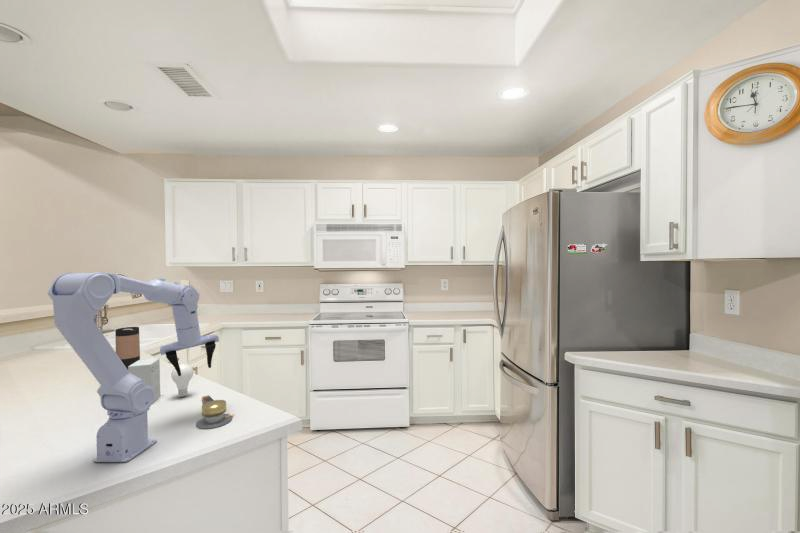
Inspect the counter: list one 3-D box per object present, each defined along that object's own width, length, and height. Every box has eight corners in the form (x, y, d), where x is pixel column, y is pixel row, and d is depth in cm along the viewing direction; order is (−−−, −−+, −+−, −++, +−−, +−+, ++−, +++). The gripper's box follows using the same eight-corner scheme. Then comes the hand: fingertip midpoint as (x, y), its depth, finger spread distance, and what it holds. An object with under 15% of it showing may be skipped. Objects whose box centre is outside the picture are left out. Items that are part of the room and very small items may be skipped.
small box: (139, 398, 117) (138, 359, 117) (161, 396, 119) (160, 357, 119) (128, 407, 109) (127, 366, 109) (151, 404, 111) (150, 364, 111)
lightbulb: (183, 400, 114) (182, 367, 114) (167, 399, 115) (166, 366, 115) (198, 393, 120) (197, 361, 120) (182, 392, 121) (181, 361, 121)
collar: (229, 412, 98) (228, 403, 98) (205, 419, 94) (205, 410, 94) (216, 400, 107) (216, 392, 107) (194, 406, 103) (194, 398, 102)
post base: (221, 429, 93) (221, 420, 93) (188, 429, 94) (188, 420, 94) (238, 414, 102) (238, 406, 102) (208, 414, 103) (208, 406, 103)
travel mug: (119, 377, 141) (118, 327, 141) (142, 374, 144) (141, 326, 144) (113, 382, 134) (112, 330, 134) (137, 379, 137) (136, 328, 137)
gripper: (213, 317, 108) (220, 359, 110) (157, 329, 99) (165, 373, 102) (216, 323, 102) (223, 366, 104) (157, 335, 94) (165, 382, 96)
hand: (194, 370), depth 102 cm, fingers open, 7 cm apart
